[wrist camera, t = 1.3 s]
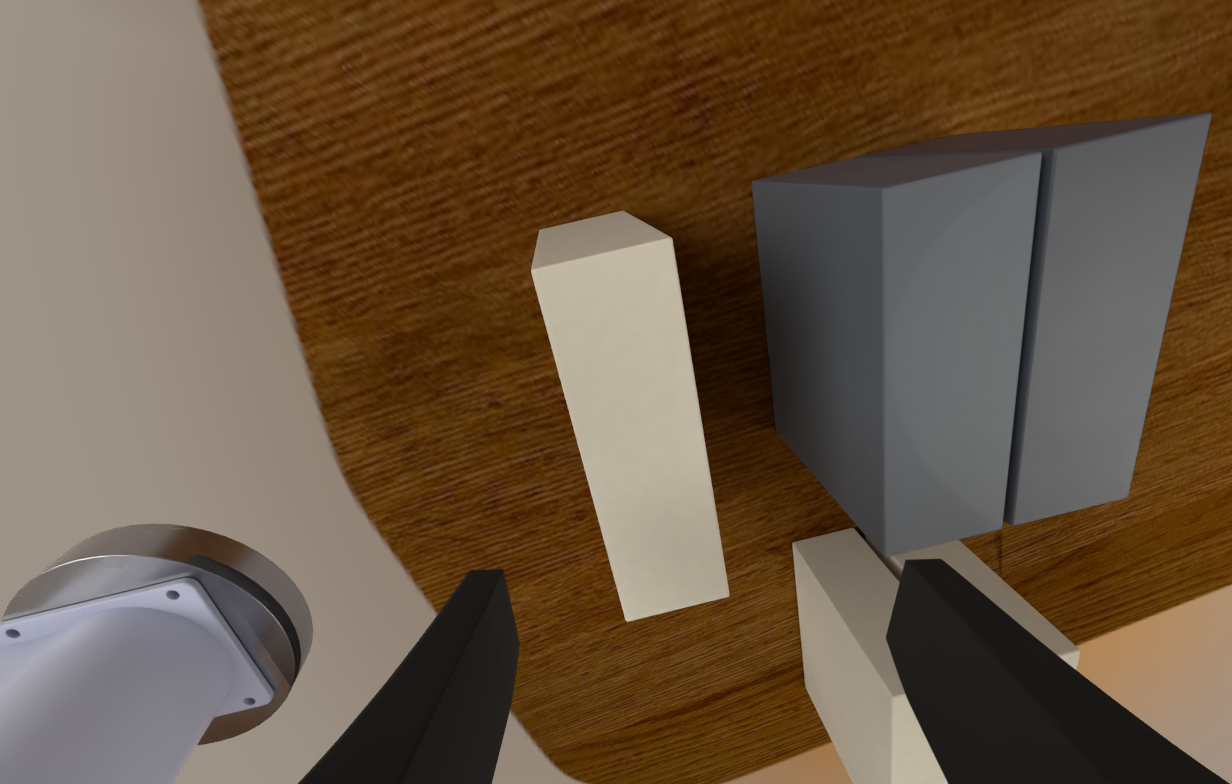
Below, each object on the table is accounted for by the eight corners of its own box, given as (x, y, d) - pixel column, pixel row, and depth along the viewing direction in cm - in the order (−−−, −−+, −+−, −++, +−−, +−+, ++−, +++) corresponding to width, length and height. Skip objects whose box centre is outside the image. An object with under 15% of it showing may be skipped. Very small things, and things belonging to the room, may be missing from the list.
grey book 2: (861, 410, 22) (1011, 527, 15) (855, 157, 18) (1055, 147, 11) (940, 391, 23) (1129, 498, 15) (952, 134, 19) (1214, 111, 11)
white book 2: (804, 686, 29) (891, 864, 21) (791, 541, 25) (892, 698, 17) (858, 673, 29) (963, 845, 21) (853, 526, 25) (980, 676, 17)
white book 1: (601, 473, 22) (626, 622, 15) (538, 229, 18) (530, 270, 11) (671, 456, 22) (730, 597, 15) (623, 210, 18) (672, 236, 11)
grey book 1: (775, 431, 22) (884, 559, 15) (750, 181, 18) (882, 188, 11) (855, 412, 22) (1003, 529, 15) (848, 158, 18) (1044, 150, 11)
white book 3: (867, 671, 29) (975, 842, 21) (863, 523, 25) (994, 672, 17) (920, 657, 29) (1046, 823, 22) (925, 508, 25) (1082, 650, 18)
